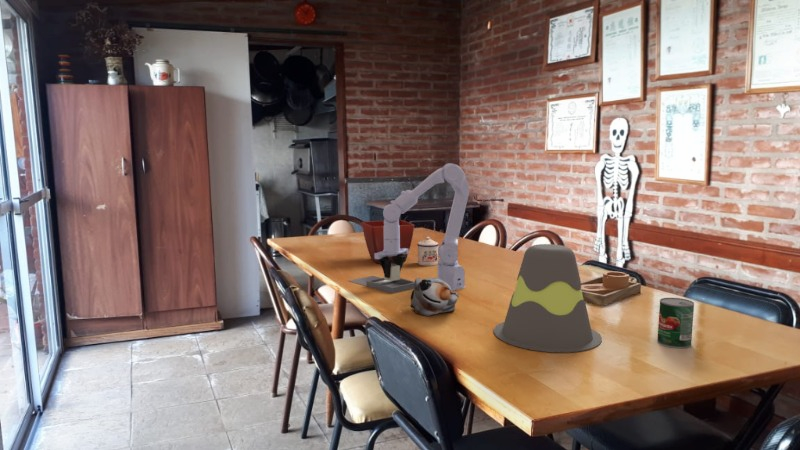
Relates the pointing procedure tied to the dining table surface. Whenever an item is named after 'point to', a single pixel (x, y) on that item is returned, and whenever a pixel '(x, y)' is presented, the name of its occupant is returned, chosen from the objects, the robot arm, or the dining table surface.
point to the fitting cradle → (609, 297)
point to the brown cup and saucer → (608, 283)
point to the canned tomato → (675, 322)
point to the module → (394, 273)
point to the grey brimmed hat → (548, 304)
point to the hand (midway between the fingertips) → (392, 276)
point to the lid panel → (363, 280)
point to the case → (391, 285)
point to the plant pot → (376, 236)
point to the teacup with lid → (428, 252)
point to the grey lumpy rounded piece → (432, 297)
